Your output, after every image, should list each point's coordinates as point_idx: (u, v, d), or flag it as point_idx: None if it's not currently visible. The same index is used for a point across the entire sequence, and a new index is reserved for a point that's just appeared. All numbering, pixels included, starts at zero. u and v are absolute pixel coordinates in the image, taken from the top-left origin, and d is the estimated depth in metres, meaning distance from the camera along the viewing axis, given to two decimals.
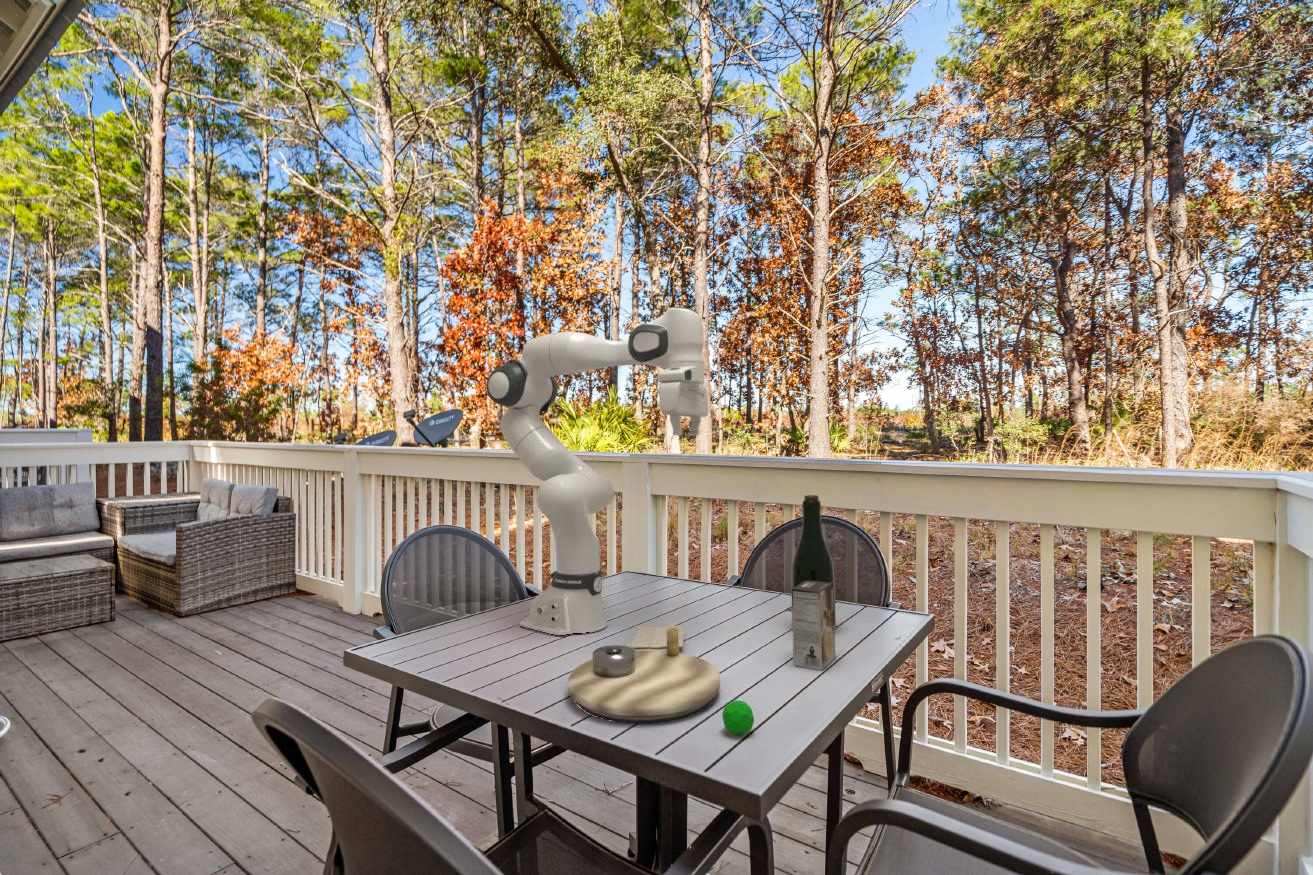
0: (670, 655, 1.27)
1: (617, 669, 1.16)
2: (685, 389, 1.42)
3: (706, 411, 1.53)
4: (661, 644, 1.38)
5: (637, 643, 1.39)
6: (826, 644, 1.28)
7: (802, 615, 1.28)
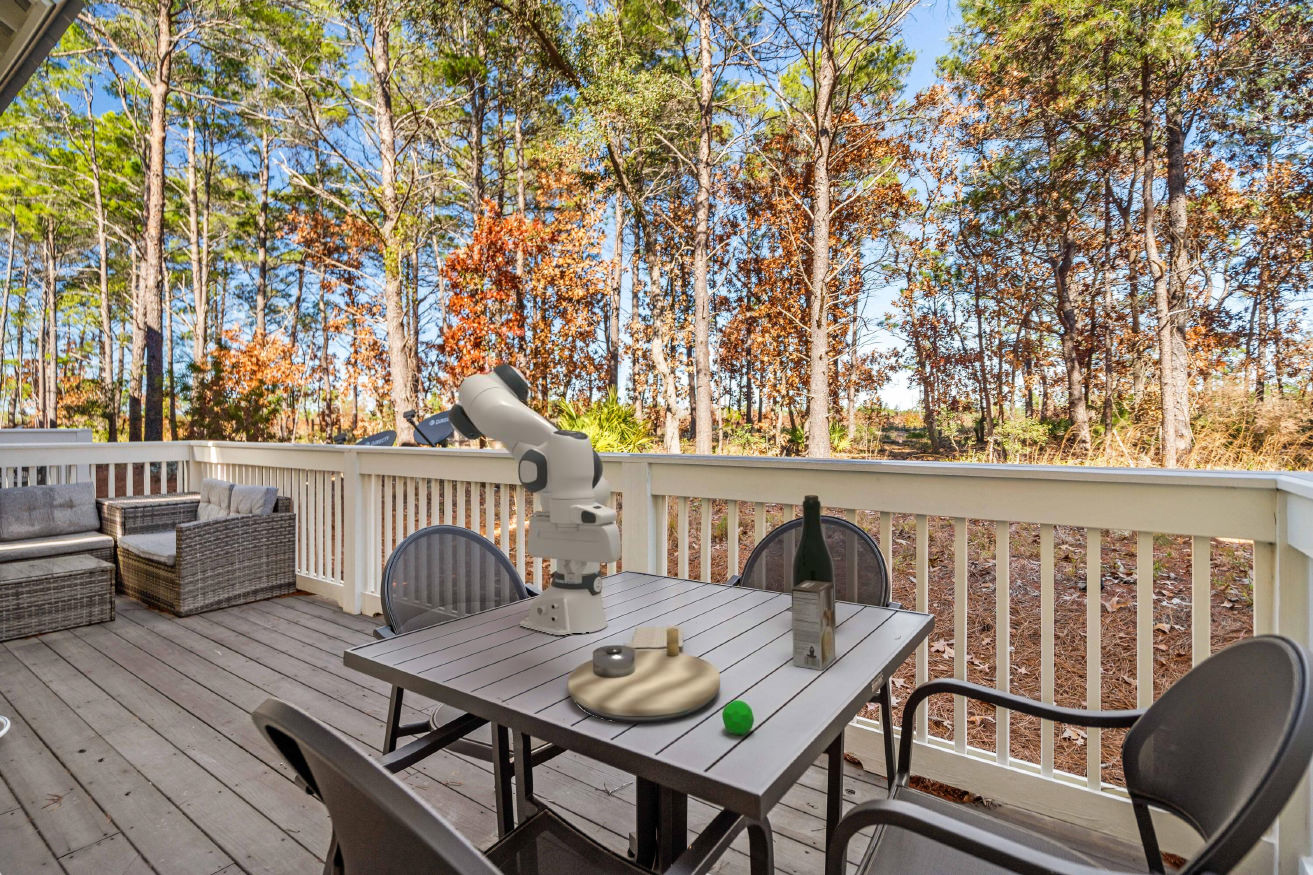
0: (670, 655, 1.27)
1: (617, 669, 1.16)
2: None
3: None
4: (661, 644, 1.38)
5: (637, 643, 1.39)
6: (826, 644, 1.28)
7: (802, 615, 1.28)
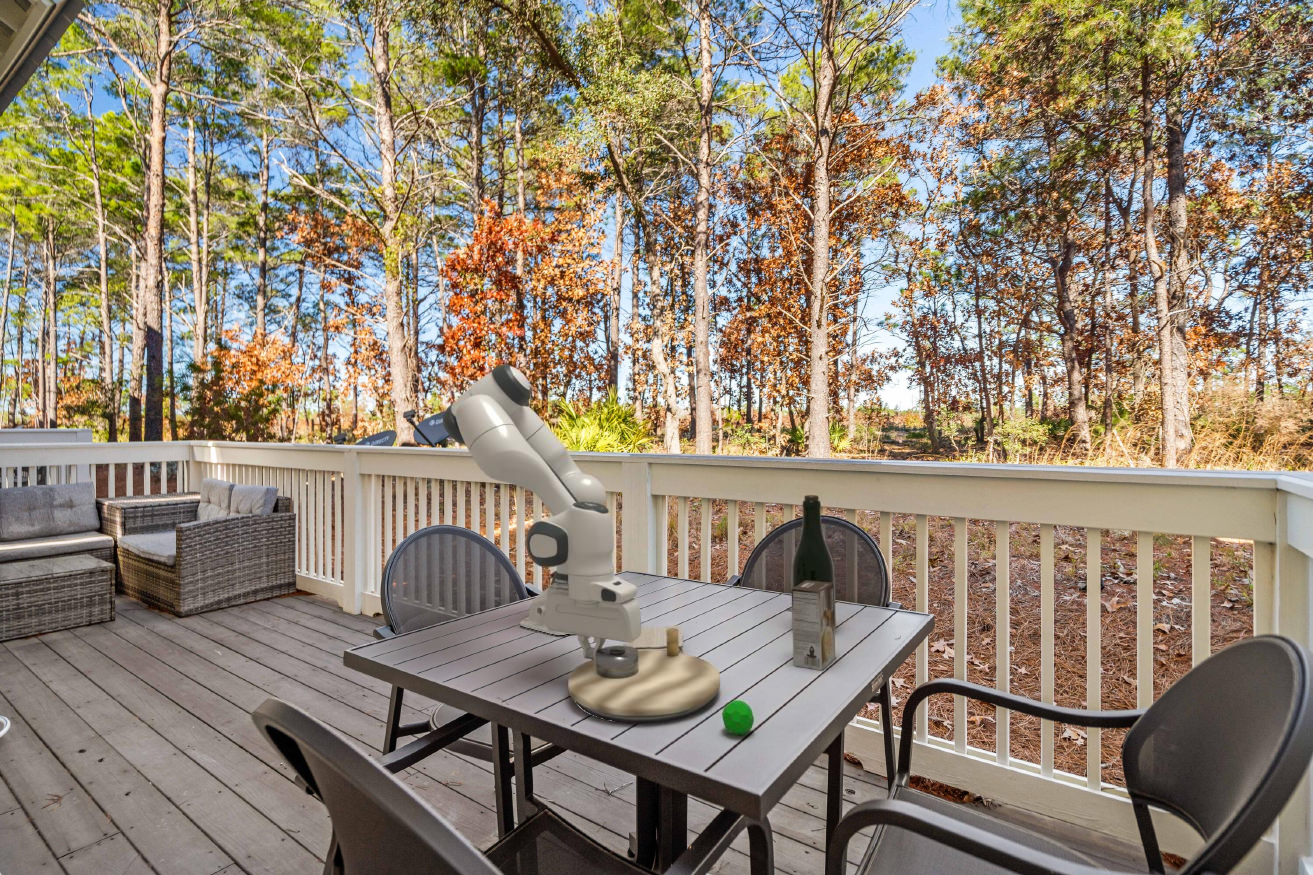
0: (670, 655, 1.27)
1: (621, 669, 1.15)
2: None
3: None
4: (661, 644, 1.38)
5: (637, 643, 1.38)
6: (826, 644, 1.28)
7: (802, 615, 1.28)
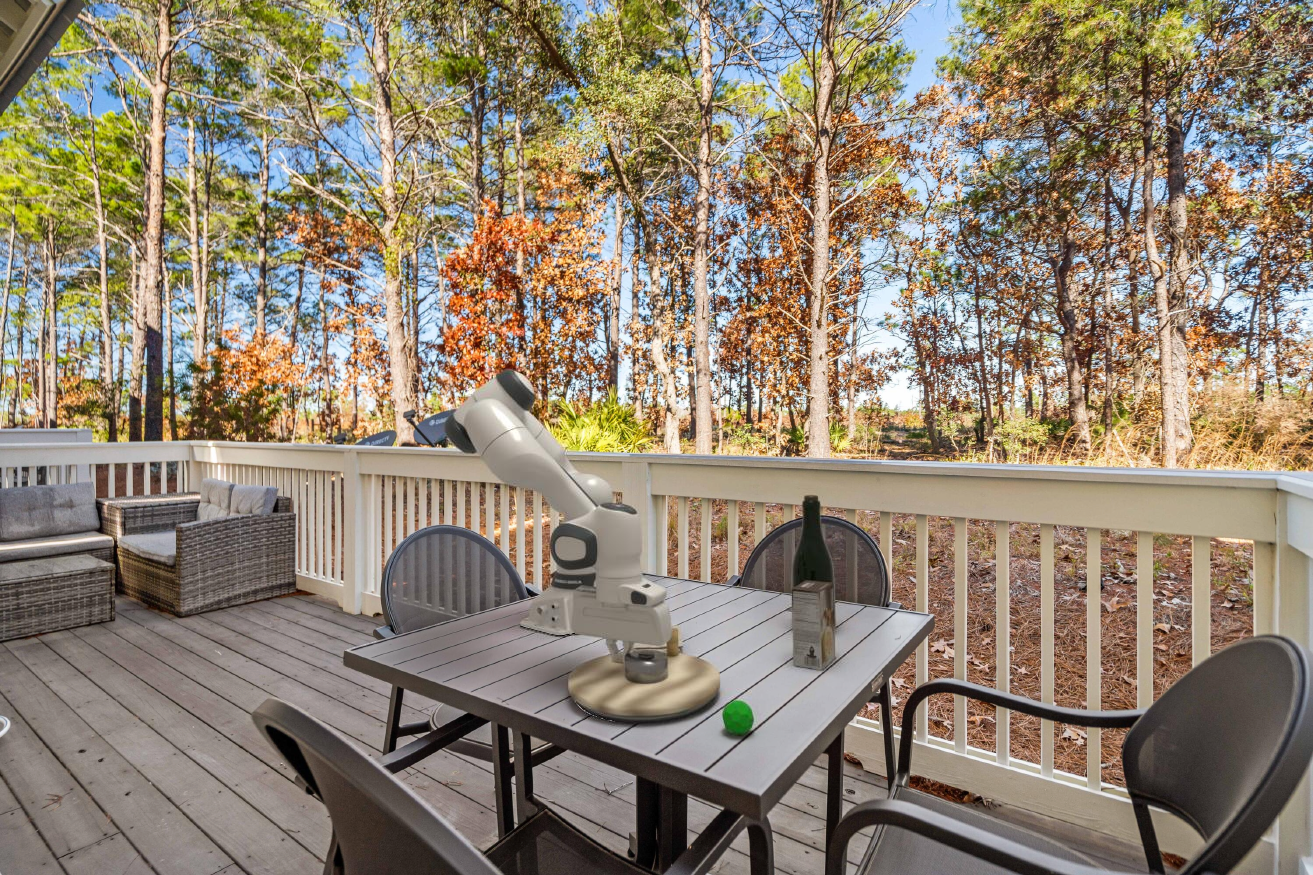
0: (670, 655, 1.27)
1: (650, 675, 1.12)
2: None
3: None
4: None
5: (637, 643, 1.38)
6: (826, 644, 1.28)
7: (802, 615, 1.28)
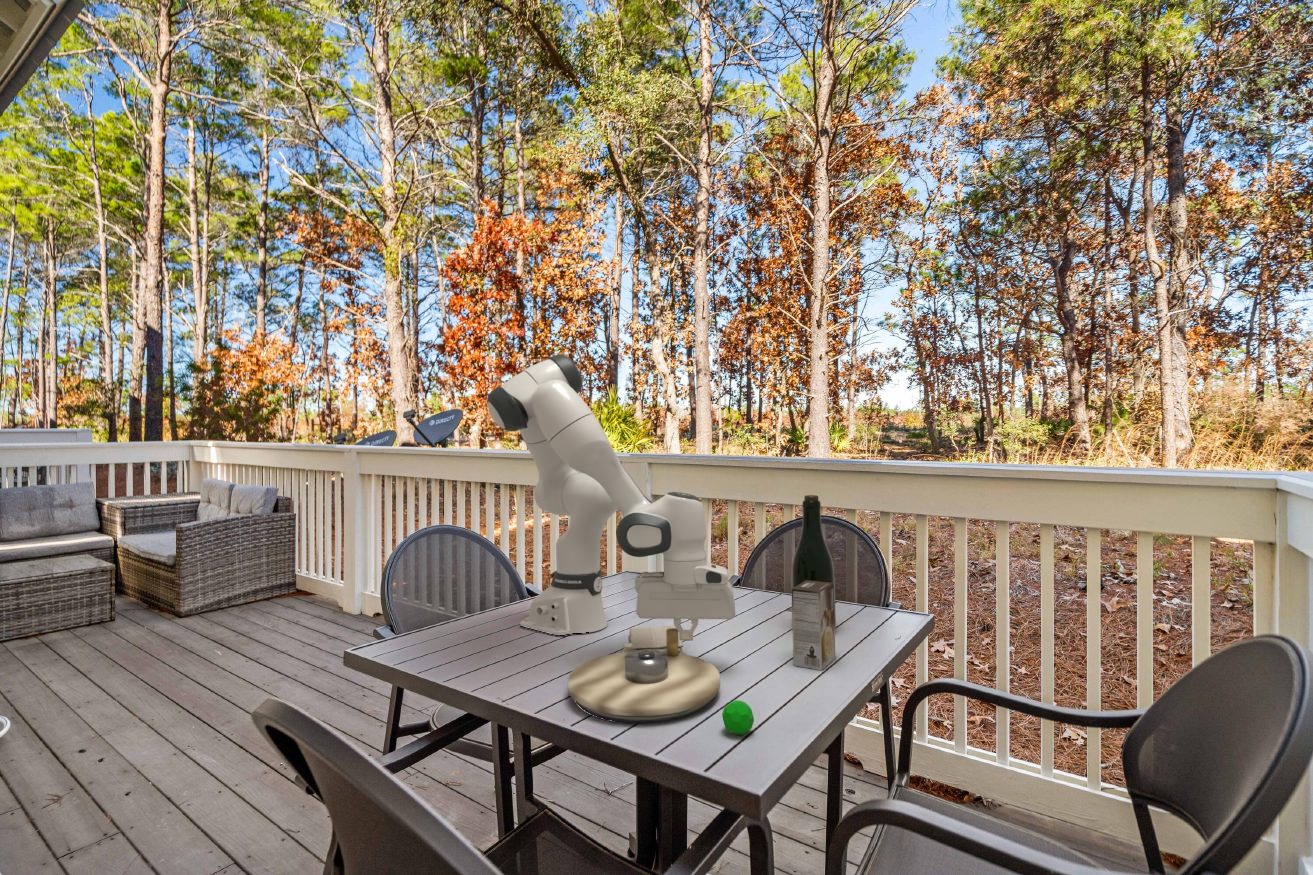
0: (670, 655, 1.27)
1: (650, 675, 1.12)
2: None
3: None
4: (661, 644, 1.38)
5: (637, 644, 1.38)
6: (826, 644, 1.28)
7: (802, 615, 1.28)
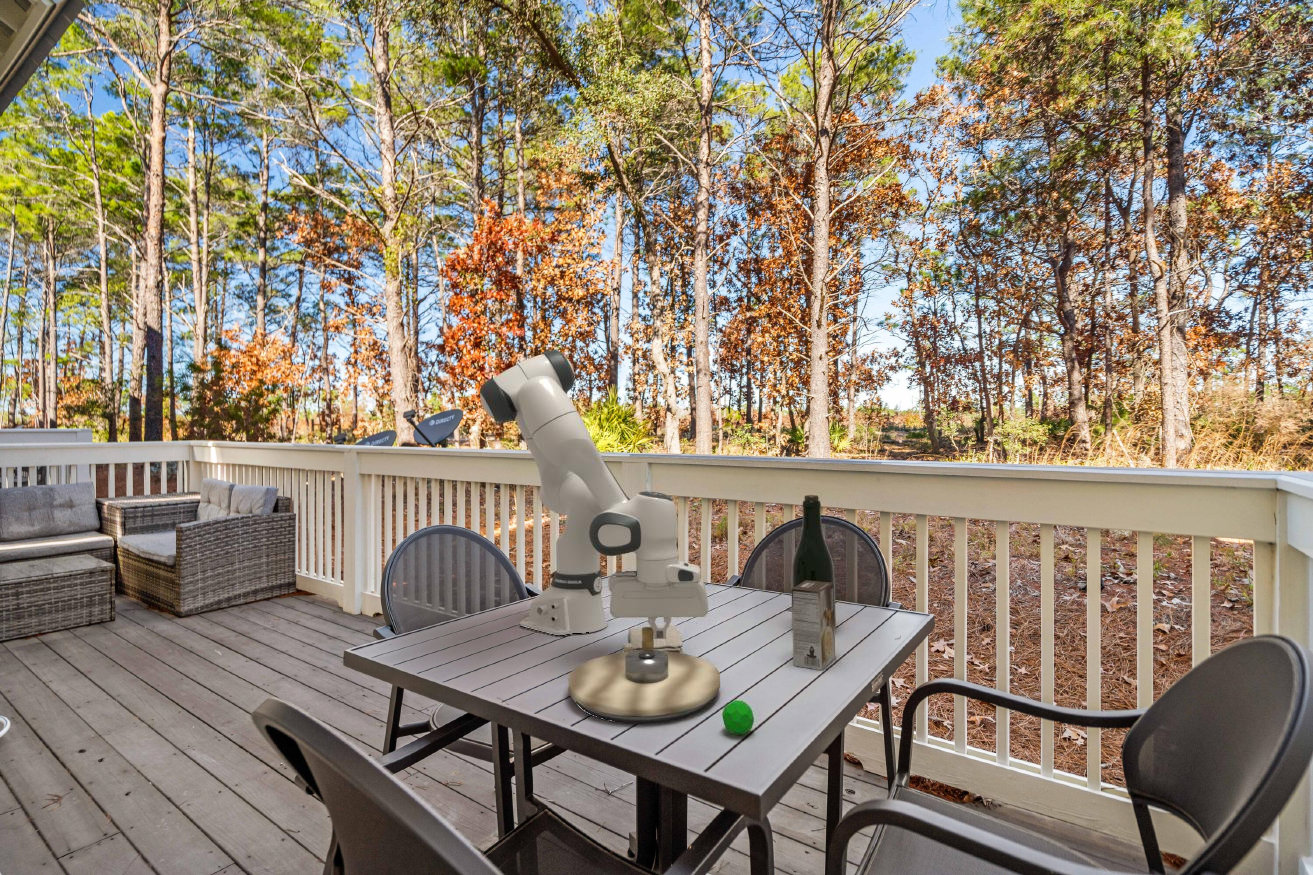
0: None
1: (659, 673, 1.13)
2: None
3: None
4: (661, 644, 1.38)
5: (637, 644, 1.38)
6: (826, 644, 1.28)
7: (802, 615, 1.28)
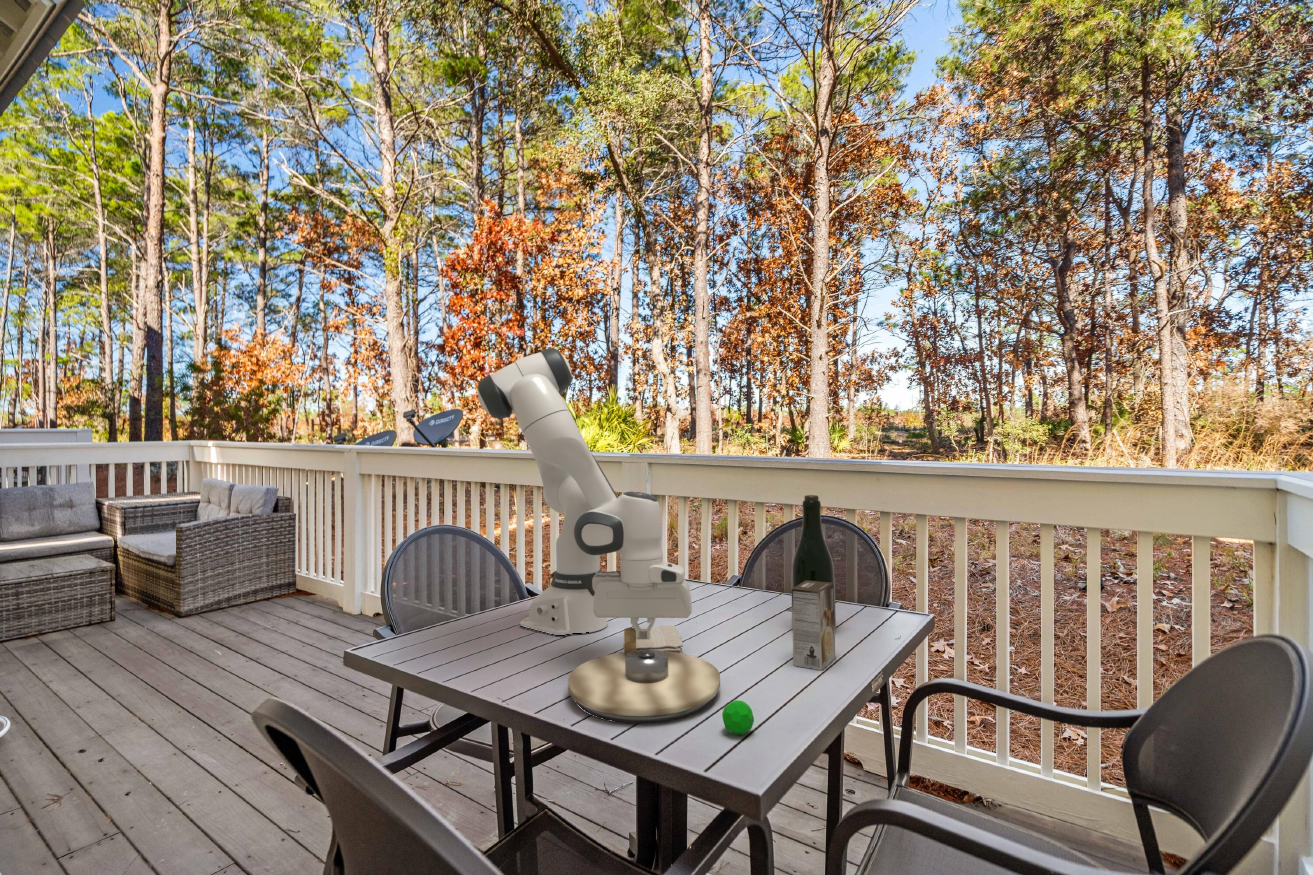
0: None
1: (663, 671, 1.14)
2: None
3: None
4: (661, 644, 1.38)
5: (637, 644, 1.38)
6: (826, 644, 1.28)
7: (802, 615, 1.28)
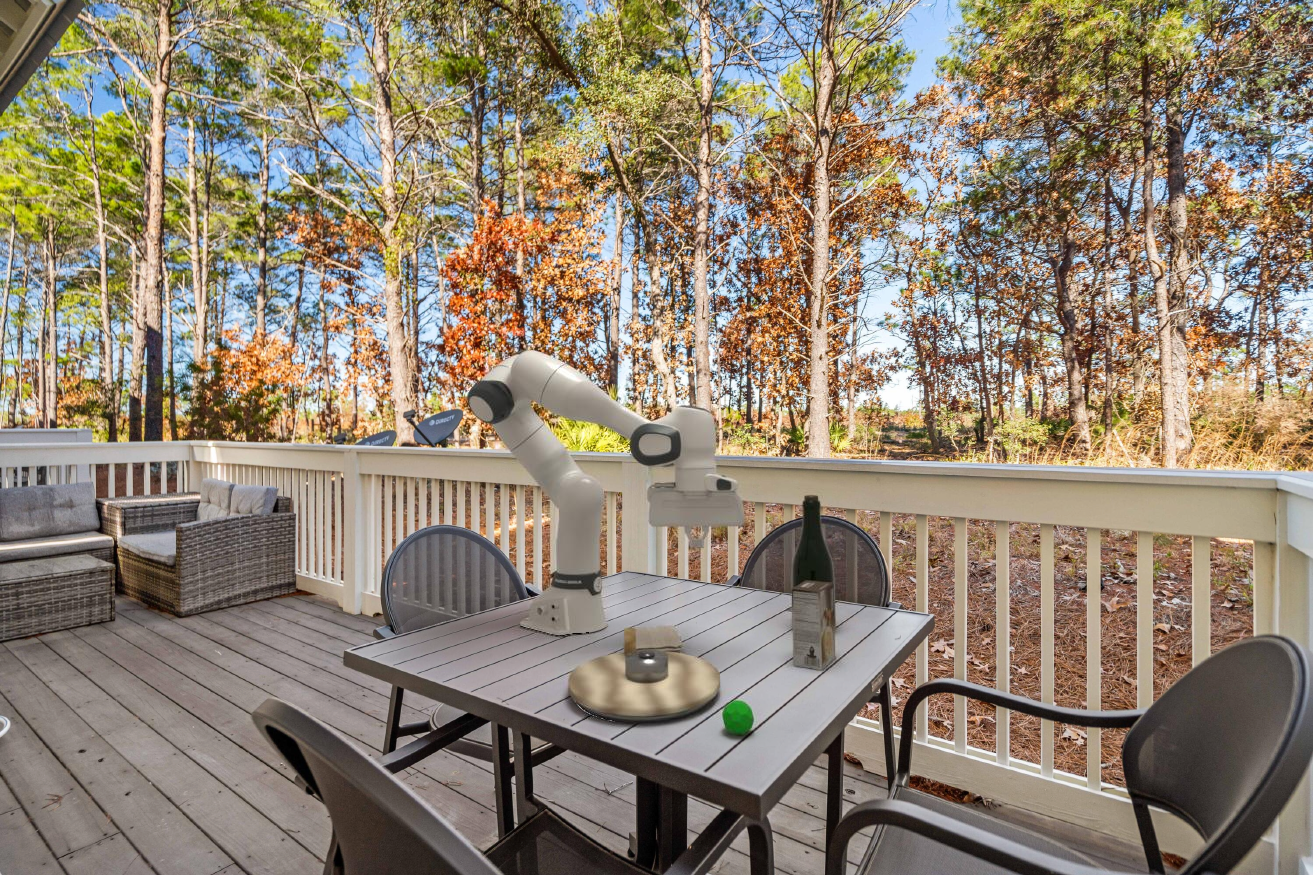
0: None
1: (663, 671, 1.14)
2: None
3: None
4: (661, 644, 1.38)
5: (637, 644, 1.38)
6: (826, 644, 1.28)
7: (802, 615, 1.28)
